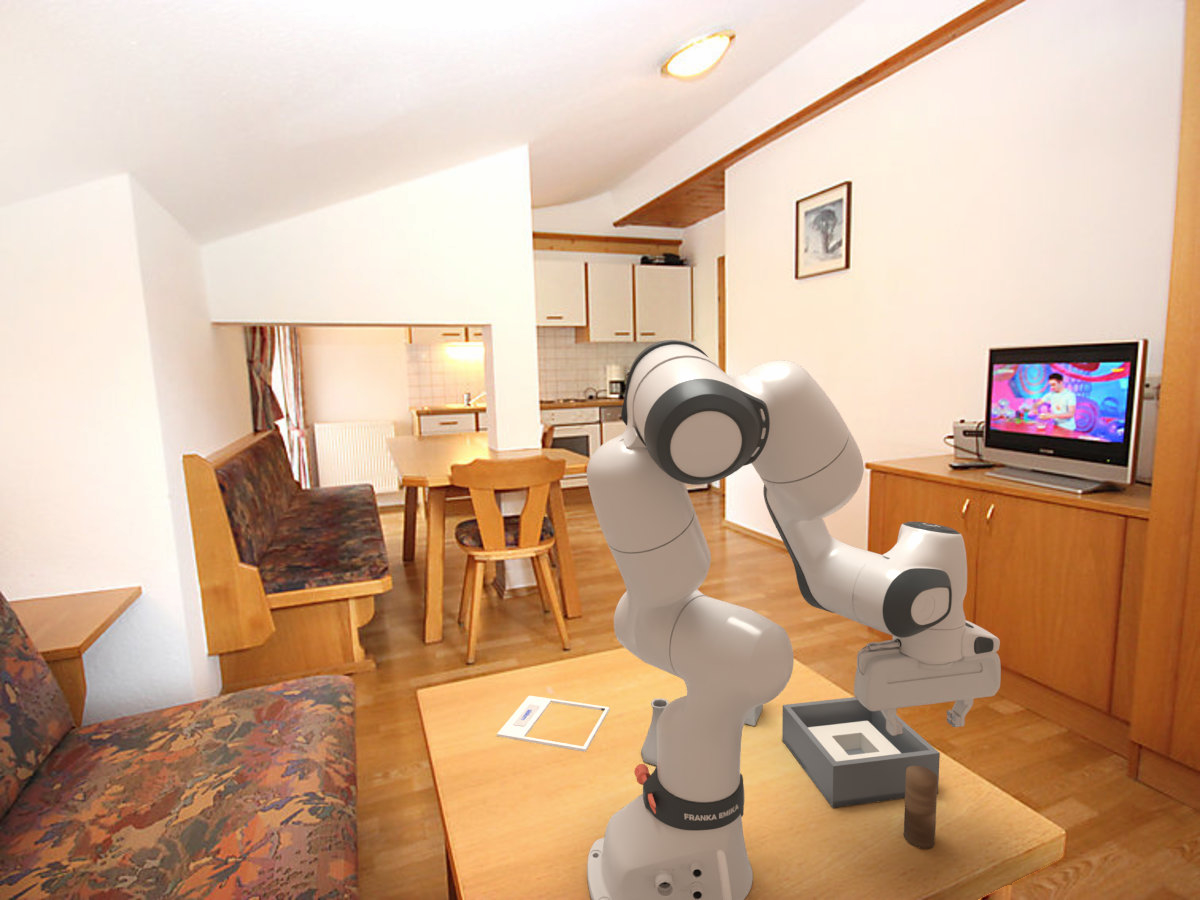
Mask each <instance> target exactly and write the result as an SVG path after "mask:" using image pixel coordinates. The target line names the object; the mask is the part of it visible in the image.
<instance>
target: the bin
mask: <svg viewBox="0 0 1200 900" xmlns="http://www.w3.org/2000/svg"><path fill="white" fill-rule="evenodd" d="M892 715H893V714H892ZM893 717H896V718H897V719H898V721H900V722H901V723H902V724H903V729H902V731H903V734H901V735H894V736H892V735H891V734H890V733H889V732H888V731H887V730H886V718H885V717H884V715H883V714H882V712H881V711H869V710H868V709H867V708H866V707H864V706H863V705H862V704H861V703H860V702H859V701H858V700H857V698H856V697H855V696H853V697H843V698H835V699H825V700H816V701H808V702H807V701H806V702H798V703H797V702H796V703H788V704H782V724H781V725H782V729H781V730H782V731H781V732H782V735H781V736H782V737H781V740H782V743H783V744H784V745H785V746H786V748H787V749H788V750H789V752H790V754H791V755H792V756H793V757H794V758H795V760H796V761H797V762H798V764H799V765H800V766H801V767H802V770H804V771H805V774H807V776H808V778H810V780H811V781H812V783H814V785H815V786H816V788H817V789H818V790H819V792H820V793H821V795H822V796H823V797H824V798H825V800H826V801H827V802H828V804H829V805H830V807H831V808H832V809H836V808H842V807H851V806H857V805H858V806H859V805H865V804H872V803H879V802H885V801H886V802H888V801H895V800H903V799H905V786H906V769H907V768H908V767H910V766H922V767H925V768H928V769H930V770H931V771H933V772H934V773H935V774H936V775H937V778H938V781H937V795H938V794H939V781H940V780H939V778H940V756H941V754H940V753H941V752H939V751H938V750H937V749H936V748H935V747H934V746H932V745H931V744H930V743H929V742H928V741H927V740H925V738H924V737H922V736H921V735H920V734H918V733H917V732H916V730H914V729H913V728H912V727H911V726H910V725H908V724H907V723H906V722H905V721H904V720H903V719H902V718H901V717H900V716H899V715H897V713H896V714H894V715H893Z"/></svg>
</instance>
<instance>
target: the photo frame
mask: <svg viewBox="0 0 1200 900" xmlns="http://www.w3.org/2000/svg"><path fill="white" fill-rule="evenodd" d="M551 702H554V703H553V704H557V703H560V704H559V705H563V704H565V706H570V705H571V706H572V707H576V706H577V708H578V707H579V708H584V709H591V710H597V711H602V710H603V712H602V714H601V716H599V717H600V718H598V720H597V723H596V724H595V725H594V727H593V729H592V731H591V732H590V734H589V736H588V738H587V740H586V741H585V743H584V744H583V746H582V745H578V744H571V743H566V742H565V743H564V742H558V741H553V740H547V739H542V738H536V737H531V736H530V737H529V736H527V735H528V733H530V731H531V730H532V729H533V727H534V726H535V725H534V724H536V723H537V722H538V721H539V719H540V718H541V717H542V715H543V714H544V713H545V711H546V710H547V709H548V707H549V706H550V705H551V704H552V703H551ZM549 704H550V705H549ZM548 705H549V706H548ZM571 706H570V707H571ZM546 708H547V709H546ZM545 709H546V710H545ZM543 712H544V713H543ZM609 712H610V706H609V707H608V706H603V705H596V704H590V703H585V702H577V701H570V700H569V701H568V700H562V699H555V698H551V697H550V698H549V697H541V696H535V695H528V696H527V697H526V698H525V699H524V700H523V702H522V703H520V706H519V707H517V709H516V710H515V711H514V713H513V714H512V715H511V716H510V718H509V719H508V720H507V721H506V722H505V724H504V725H503V726H502V727H501V729H500V730H499V731H497V733H496V736H497V737H499V736H500V738H504V737H505V739H510V740H515V741H516V740H517V741H521V740H522V742H528V743H533V744H534V743H535V744H539V745H543V746H544V745H545V746H549V747H556V748H563V749H568V750H573V751H578V752H583V753H584V752H587V750H588V749H589V747H590V745H591V743H592V742H593V740H594V738H595V737H596V734H597V733H598V731H599V729H600V727H601V726H602V724H603V722H604V720H605V719H606V717H607V715H608V713H609ZM540 716H541V717H540ZM537 720H538V721H537Z"/></svg>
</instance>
